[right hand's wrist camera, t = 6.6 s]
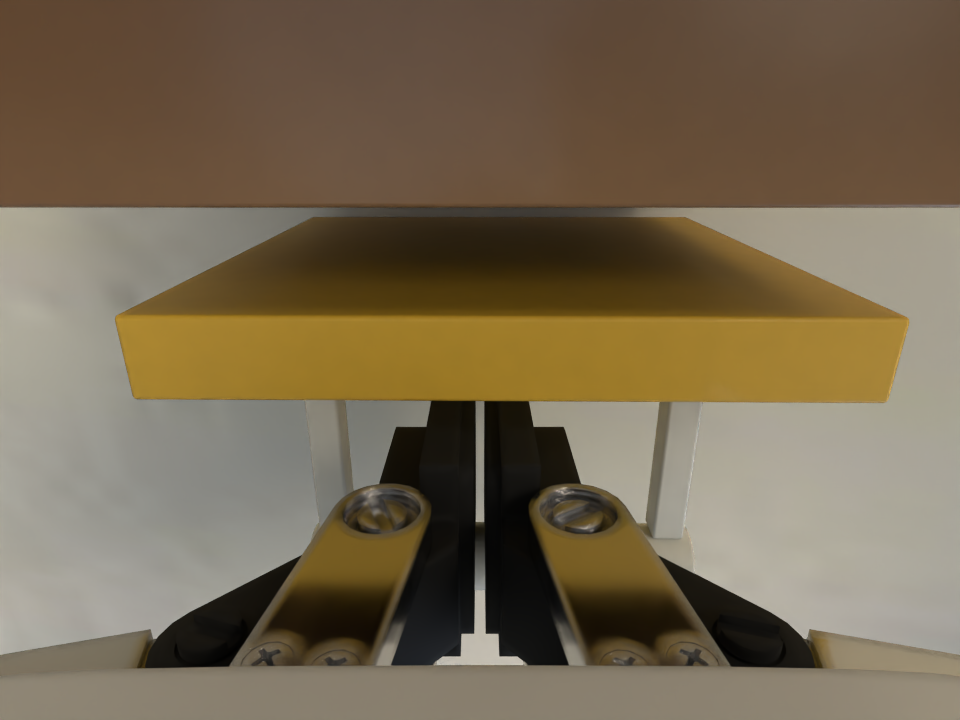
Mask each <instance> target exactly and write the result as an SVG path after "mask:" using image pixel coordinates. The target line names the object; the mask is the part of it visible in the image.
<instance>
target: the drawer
mask: <svg viewBox="0 0 960 720" xmlns="http://www.w3.org/2000/svg"><path fill="white" fill-rule="evenodd" d="M115 322H116V326H117V331H118V335H119V339H120V343H121V348H122V352H123V356H124V360H125V364H126V369H127V373H128V377H129V381H130V386H131V390H132V394H133V397H134V398H135V399H201V400H305V409H306V417H307V425H308V434H309V442H310V450H311V458H312V467H313V475H314V483H315V491H316V500H317V508H318V516H319V523H318V524H317V525H316V527H315V529H314V532H313V535H312V539H313V538H314V536H315V535H316V533H317V532H318V530H319V529H320V527H321V526H322V524H323V523H324V521H325V520H326V518H327V517H328V515H329V514H330V512H331V511H332V509H333V508H334V506H335V505H336V504H337V503H338V502H339V501H340V500H341V499H342V498H343V497H344V496H346V495H348V494H349V493H351V492H353V491H354V490H353V480H352V469H351V458H350V448H349V437H348V426H347V415H346V405H345V400H402V401H603V402H660V404H659V413H658V421H657V429H656V438H655V446H654V454H653V463H652V471H651V479H650V488H649V496H648V504H647V513H646V522H647V523H637V524H638V526H639V527H640V529H641V530H642V532H643V533H644V535H645V536H646V538H647V539H648V541H649V542H650V544H651V545H652V547H653V549H654V550H655V552H656V553H657V555H659V556H661V557H663V558H665V559H667V560H669V561H671V562H673V563H675V564H677V565H679V566H680V567H682V568H684V569H686V570H688V571H690V572H692V573H694V574H695V558H694V550H693V545H692V542H691V538H690V535H689V533H688V531H687V529H686V528H685V527H684V524H685V518H686V511H687V504H688V498H689V491H690V484H691V477H692V471H693V464H694V457H695V451H696V444H697V437H698V430H699V424H700V417H701V410H702V404H703V402H804V403H885V402H887V401H888V399H889V395H890V391H891V388H892V384H893V380H894V377H895V373H896V370H897V366H898V362H899V359H900V355H901V351H902V348H903V344H904V340H905V337H906V333H907V329H908V326H909V319H908V318H907V317H905V316H903V315H901V314H898V313H896V312H894V311H892V310H889V309H887V308H885V307H883V306H881V305H878V304H876V303H874V302H872V301H870V300H867V299H865V298H863V297H861V296H858V295H856V294H854V293H852V292H850V291H847V290H845V289H843V288H841V287H839V286H836V285H834V284H832V283H830V282H827V281H825V280H823V279H821V278H819V277H816V276H814V275H812V274H810V273H807V272H805V271H803V270H801V269H799V268H796V267H794V266H792V265H790V264H788V263H785V262H783V261H781V260H779V259H776V258H774V257H772V256H770V255H768V254H765V253H763V252H761V251H759V250H757V249H754V248H752V247H750V246H748V245H745V244H743V243H741V242H739V241H737V240H734V239H732V238H730V237H728V236H726V235H723V234H721V233H719V232H717V231H714V230H712V229H710V228H708V227H706V226H703V225H701V224H699V223H697V222H694V221H692V220H690V219H688V218H686V217H313V218H311V219H309V220H307V221H305V222H303V223H301V224H299V225H297V226H295V227H293V228H291V229H289V230H287V231H285V232H283V233H281V234H279V235H277V236H275V237H273V238H271V239H269V240H267V241H265V242H263V243H261V244H259V245H257V246H255V247H253V248H251V249H249V250H247V251H245V252H243V253H241V254H239V255H237V256H235V257H233V258H231V259H229V260H227V261H225V262H223V263H221V264H219V265H217V266H215V267H213V268H211V269H209V270H207V271H205V272H203V273H201V274H199V275H197V276H195V277H193V278H191V279H189V280H187V281H185V282H183V283H181V284H179V285H177V286H175V287H173V288H171V289H169V290H167V291H165V292H163V293H161V294H159V295H157V296H155V297H153V298H151V299H149V300H147V301H145V302H143V303H141V304H139V305H137V306H135V307H133V308H131V309H129V310H127V311H125V312H123V313H121V314H119V315H117V316H116V317H115ZM312 539H311V541H312ZM475 590H485V525H484V522H476V525H475Z"/></svg>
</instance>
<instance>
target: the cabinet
mask: <svg viewBox="0 0 960 720" xmlns="http://www.w3.org/2000/svg"><path fill="white" fill-rule="evenodd" d="M0 207H718V208H960V0H0Z"/></svg>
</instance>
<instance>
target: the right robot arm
mask: <svg viewBox="0 0 960 720" xmlns="http://www.w3.org/2000/svg"><path fill="white" fill-rule="evenodd" d="M475 525H476V401H431V405H430V411H429V416H428V421H427V427H396V429H395V432H394V435H393V439H392V442H391V446H390V449H389V452H388V456H387V459H386V462H385V466H384V469H383V473H382V476H381V479H380V483H379V484H377V485H371V486H366V487H363V488H360V489H358V490H355V491H353V492H351V493H349V494H348V495H346V496H344V497H343V498H342V499H341V500H340V501H339V502H338V503H337V504H336V505H335V506H334V508H333V509H332V511H331V512H330V514H329V515H328V517H327V518H326V520H325V521H324V523H323V524H322V526H321V527H320V529H319V530H318V532H317V533H316V535H315V536H314V538H313V539H312V541H311V542H310V544H309V545H308V547H307V549H306V550H305V552H304V553H303V555H301V556H299V557H297V558H295V559H293V560H291V561H289V562H287V563H285V564H283V565H281V566H280V567H278V568H276V569H274V570H272V571H270V572H268V573H266V574H264V575H262V576H260V577H258V578H256V579H254V580H252V581H250V582H248V583H246V584H244V585H242V586H240V587H238V588H236V589H234V590H233V591H231V592H229V593H227V594H225V595H223V596H221V597H219V598H217V599H215V600H213V601H211V602H209V603H207V604H205V605H203V606H201V607H199V608H197V609H195V610H193V611H191V612H189V613H188V614H186V615H185V616H183V617H181V618H180V619H178V620H177V621H175V622H174V623H172V624H171V625H170V626H169V627H168V628H167V629H166V630H165V631H164V632H163V633H161V634H160V635H159V636H158V638H157V639H153V637H152V633H151V629H149V630H144V631H138V632H132V633H126V634H120V635H114V636H108V637H103V638H97V639H91V640H85V641H79V642H73V643H67V644H61V645H56V646H50V647H44V648H38V649H32V650H26V651H20V652H15V653H9V654H3V655H0V720H960V655H957V654H951V653H945V652H940V651H934V650H928V649H922V648H916V647H910V646H904V645H899V644H893V643H887V642H881V641H875V640H869V639H863V638H857V637H852V636H846V635H840V634H834V633H828V632H822V631H816V630H811V629H809V633H808V637H807V639H803V638H802V636H801V635H800V634H799V633H797V632H796V631H795V630H794V629H793V628H792V627H791V626H790V625H789V624H788V623H786V622H785V621H783V620H782V619H780V618H779V617H777V616H775V615H774V614H772V613H771V612H769V611H767V610H765V609H763V608H761V607H759V606H757V605H755V604H753V603H751V602H749V601H747V600H745V599H743V598H741V597H739V596H737V595H735V594H733V593H731V592H729V591H727V590H726V589H724V588H722V587H720V586H718V585H716V584H714V583H712V582H710V581H708V580H706V579H704V578H702V577H700V576H698V575H696V574H694V573H692V572H690V571H688V570H686V569H684V568H682V567H680V566H679V565H677V564H675V563H673V562H671V561H669V560H667V559H665V558H663V557H661V556H659V555H657V553H656V552H655V550H654V549H653V547H652V545H651V544H650V542H649V541H648V539H647V538H646V536H645V535H644V533H643V532H642V530H641V529H640V527H639V526H638V524H637V523H636V521H635V520H634V518H633V517H632V515H631V514H630V512H629V511H628V509H627V508H626V506H625V505H624V504H623V503H622V502H621V501H620V500H619V499H618V498H617V497H616V496H614V495H612V494H611V493H609V492H607V491H605V490H602V489H600V488H597V487H594V486H589V485H583V484H581V483H580V479H579V476H578V473H577V469H576V466H575V462H574V459H573V456H572V452H571V449H570V446H569V442H568V439H567V435H566V432H565V429H564V427H533V421H532V416H531V411H530V405H529V401H484V525H485V610H486V634H499V656H518V657H519V658H520V659H522V660H523V665H437V660H438V659H440V658H441V657H442V656H461V634H474V610H475Z"/></svg>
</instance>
